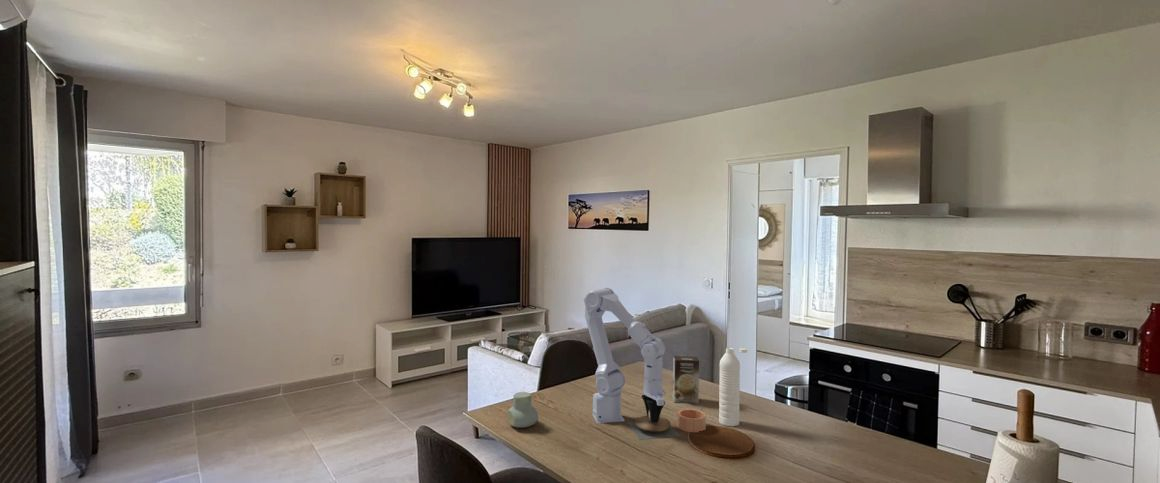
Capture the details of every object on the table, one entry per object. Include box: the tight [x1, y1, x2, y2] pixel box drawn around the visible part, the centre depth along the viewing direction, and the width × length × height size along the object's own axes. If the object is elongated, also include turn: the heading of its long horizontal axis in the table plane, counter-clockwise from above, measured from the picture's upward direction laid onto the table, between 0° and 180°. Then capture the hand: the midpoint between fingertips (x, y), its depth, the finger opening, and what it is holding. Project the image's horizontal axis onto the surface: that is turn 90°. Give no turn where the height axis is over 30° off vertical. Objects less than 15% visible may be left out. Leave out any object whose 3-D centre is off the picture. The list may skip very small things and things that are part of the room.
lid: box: [635, 411, 671, 432], centre depth 154 cm, size 11×11×4 cm
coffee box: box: [671, 355, 700, 405], centre depth 181 cm, size 9×6×16 cm
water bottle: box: [718, 347, 748, 427], centre depth 160 cm, size 9×6×25 cm
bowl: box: [676, 408, 707, 433], centre depth 156 cm, size 9×9×4 cm
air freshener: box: [506, 391, 539, 429], centre depth 159 cm, size 11×8×10 cm
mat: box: [627, 421, 681, 441], centre depth 154 cm, size 13×13×1 cm
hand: (652, 420), depth 154 cm, fingers closed on lid, 3 cm apart
